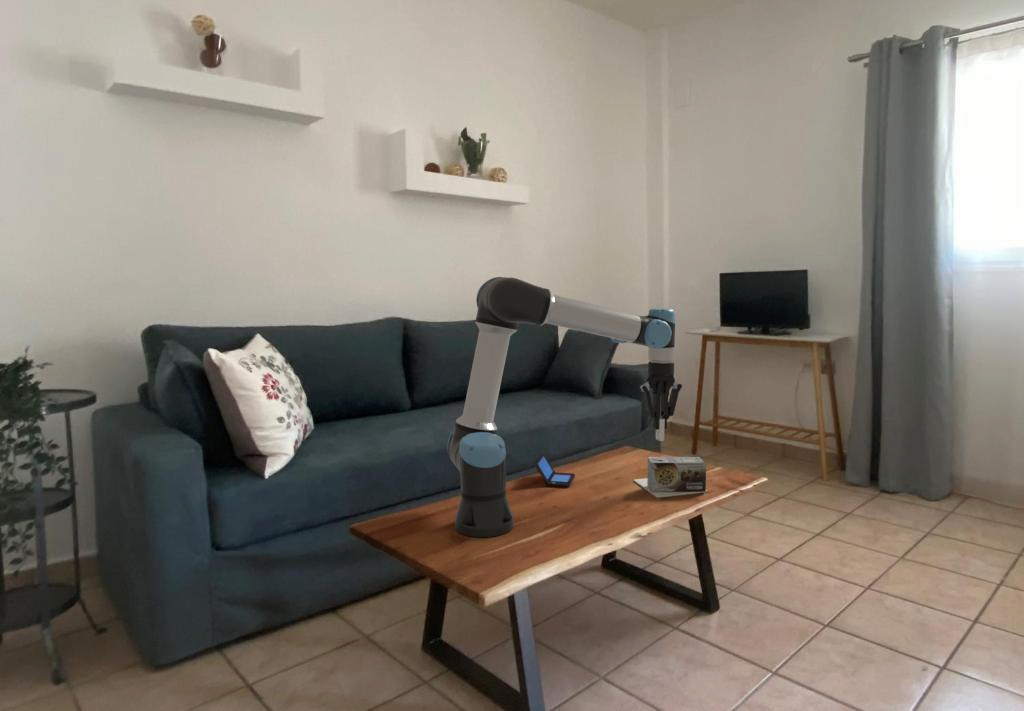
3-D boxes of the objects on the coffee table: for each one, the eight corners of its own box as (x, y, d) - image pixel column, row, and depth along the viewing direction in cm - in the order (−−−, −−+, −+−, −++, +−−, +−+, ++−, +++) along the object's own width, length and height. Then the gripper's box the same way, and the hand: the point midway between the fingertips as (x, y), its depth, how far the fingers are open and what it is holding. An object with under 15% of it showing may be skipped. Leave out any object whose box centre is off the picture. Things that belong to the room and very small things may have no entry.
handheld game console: (569, 489, 202) (569, 465, 201) (534, 486, 204) (534, 463, 203) (575, 476, 214) (575, 454, 213) (542, 474, 216) (542, 452, 215)
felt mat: (656, 497, 192) (656, 495, 192) (633, 481, 207) (633, 479, 207) (707, 492, 196) (707, 490, 195) (680, 476, 211) (680, 474, 211)
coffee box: (646, 485, 201) (701, 485, 201) (650, 492, 195) (706, 492, 194) (647, 455, 200) (701, 456, 199) (651, 462, 194) (707, 462, 193)
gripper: (675, 358, 201) (673, 435, 204) (635, 360, 198) (634, 438, 201) (687, 361, 194) (685, 441, 197) (646, 363, 191) (645, 444, 194)
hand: (659, 439), depth 199 cm, fingers closed
